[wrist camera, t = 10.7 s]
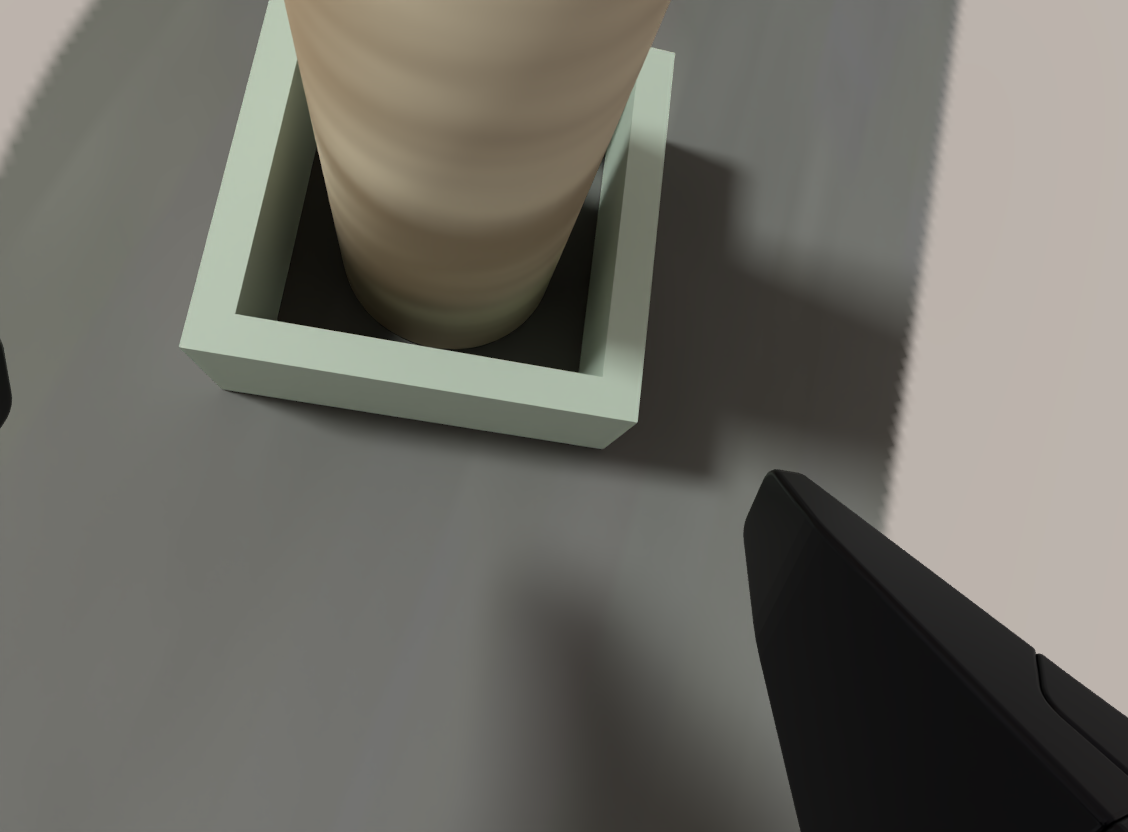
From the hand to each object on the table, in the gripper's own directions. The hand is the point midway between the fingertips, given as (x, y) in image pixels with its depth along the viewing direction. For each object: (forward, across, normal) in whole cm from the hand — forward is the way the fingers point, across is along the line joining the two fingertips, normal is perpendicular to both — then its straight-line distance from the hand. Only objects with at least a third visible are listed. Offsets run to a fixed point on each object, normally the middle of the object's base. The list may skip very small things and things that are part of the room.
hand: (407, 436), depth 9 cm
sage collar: (+10, 0, +1) cm, 10 cm away
